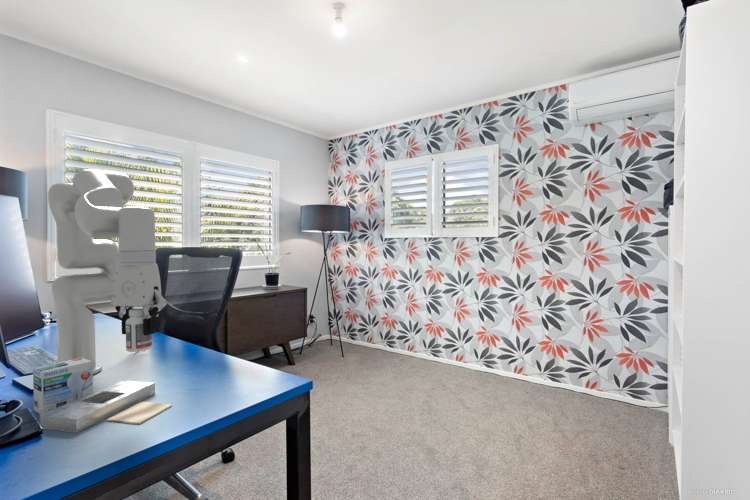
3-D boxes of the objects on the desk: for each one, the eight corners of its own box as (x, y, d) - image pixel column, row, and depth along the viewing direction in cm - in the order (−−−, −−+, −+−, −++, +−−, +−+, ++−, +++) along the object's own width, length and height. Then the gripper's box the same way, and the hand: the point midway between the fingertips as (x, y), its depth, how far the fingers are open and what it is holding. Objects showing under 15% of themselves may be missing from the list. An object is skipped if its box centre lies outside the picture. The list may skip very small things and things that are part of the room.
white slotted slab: (40, 428, 86) (39, 415, 85) (124, 390, 107) (124, 380, 107) (76, 432, 83) (76, 419, 83) (154, 393, 105) (154, 382, 105)
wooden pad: (106, 420, 89) (106, 419, 89) (141, 403, 99) (141, 401, 99) (139, 424, 87) (139, 422, 87) (171, 406, 97) (171, 404, 97)
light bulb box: (43, 417, 91) (41, 372, 91) (32, 411, 95) (31, 367, 94) (94, 401, 100) (93, 360, 100) (83, 396, 104) (82, 356, 104)
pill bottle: (155, 345, 96) (154, 306, 96) (147, 351, 90) (146, 310, 90) (131, 347, 95) (130, 307, 94) (122, 353, 89) (121, 311, 89)
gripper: (93, 259, 90) (95, 335, 91) (155, 259, 87) (157, 339, 87) (121, 257, 98) (122, 328, 98) (179, 257, 94) (181, 331, 94)
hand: (139, 332), depth 92 cm, fingers closed on pill bottle, 5 cm apart
